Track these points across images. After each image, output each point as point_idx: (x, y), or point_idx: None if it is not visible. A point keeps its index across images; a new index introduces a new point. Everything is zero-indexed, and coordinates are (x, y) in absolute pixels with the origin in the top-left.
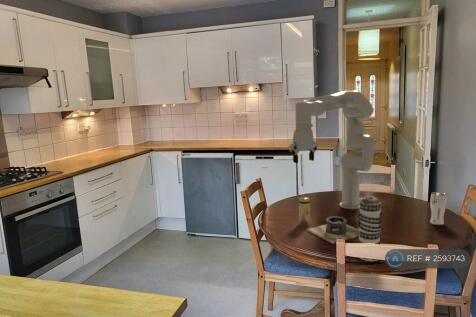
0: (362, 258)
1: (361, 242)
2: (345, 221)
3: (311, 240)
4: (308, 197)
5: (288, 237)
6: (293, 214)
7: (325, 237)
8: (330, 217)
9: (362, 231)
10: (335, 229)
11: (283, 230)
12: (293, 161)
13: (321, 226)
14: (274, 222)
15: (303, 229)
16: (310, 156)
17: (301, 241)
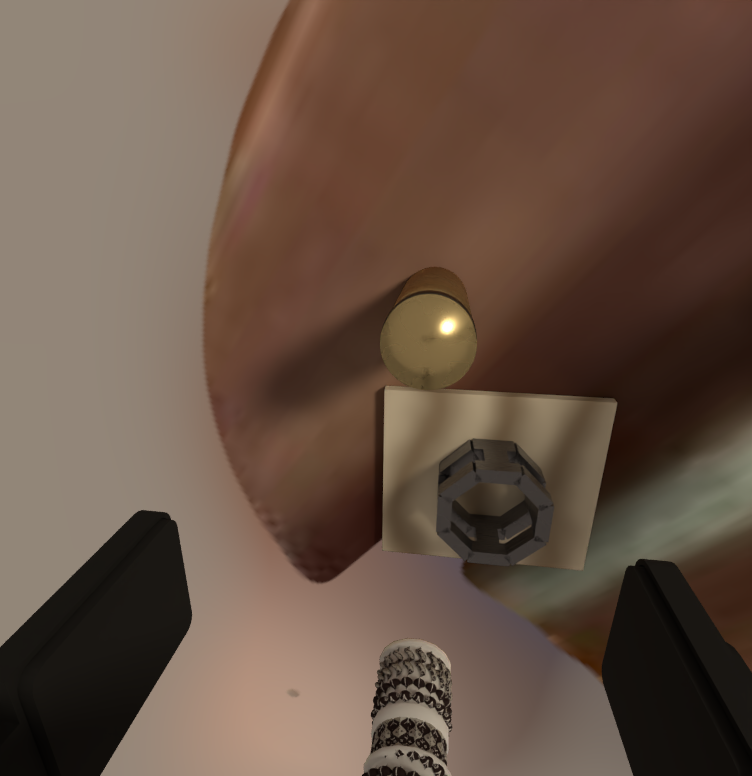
0: (380, 667)
1: (373, 717)
2: (513, 559)
3: (329, 473)
4: (472, 348)
5: (257, 392)
6: (500, 89)
7: (386, 506)
8: (495, 478)
9: (364, 772)
10: (458, 514)
11: (280, 306)
12: (135, 519)
13: (469, 404)
14: (296, 161)
15: (379, 356)
16: (654, 700)
17: (285, 456)
